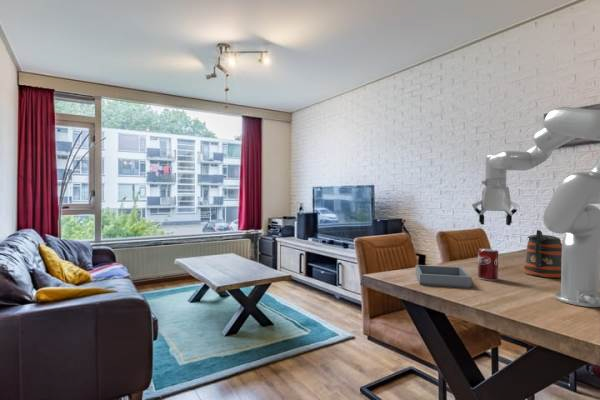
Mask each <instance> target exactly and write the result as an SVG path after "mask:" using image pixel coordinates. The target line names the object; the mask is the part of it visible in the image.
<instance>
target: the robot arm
mask: <svg viewBox="0 0 600 400" xmlns="http://www.w3.org/2000/svg"><path fill="white" fill-rule="evenodd" d="M543 126H544V127H542V128H540V129H539V130H537V131H536V132H535V133H534V135H533V141H534V143H535V145H534V146H533V147H531V148H529V149H528V150H526V151H519V150H505V151H501V152H499V153H498V152H497V153H489V154H487V155H486V157H485V179H484V180H481V185H484V187H483V189H482V193H481V199H480V200H479V201H477V202H475V203H473V204H471V206H472V208H473V210H474V211H475V212H476V213H477V214H478V222H479V223H480V225H483V226H484V225H485V215H484V214H485V213H486V212H487V211H488V212H493V211H494V212H505V213H506V214H507V215H505V216H506V217H505V224H506V226H511V224H512V222H513V221H512V219H513V216H514V214H515V213H516V212H517V211H518V210H519V208H520V204H519V203H516V202H514V201H512V200H511V193H510V192H511V191H510V188H509V186H507V171H520V172H521V171H523V172H524V171H528V170H531V169H533V168H536V167H538V166H539V165H541V164H543V163H544V162H546V161H547V160H548V159H549V158H550V157H551V156H552V153H553V151H555V150H556V149H559V147H562V146H563V145H565V144H567V143H568V142H570V141H572V140H575V139H576V138H577V139H582V140H587V141H588V140H589V141H598V142H600V109H588V108H583V107H582V108H581V107H572V106H558V107H555V108H554V109H552V110H550V111H549V112H547V114H546V116H545V117H544V120H543ZM593 204H595V205H596V204H598V205H599V204H600V155H599V156H598V158H597V159H596V161H595V163H594V164H593V166H592V168H590V170H589V171H586V172H583V171H579V172H575V173H572V174H569V175H568V176H566V177H565V178H564V179H563V180H562V181H561V182H560V183H559V185H558V187H557V188H556V189H555V191H554V194H553V195H552V197H551V199H550V201H549V203H548V204H547V206H546V208H545V210H544V212H543V216H542V217H543V223H544V226H545V227H546V229H547V230H549V231H550V232H552V233H555V234H564V237H563V239H562V241H561V244H562V257H561V278H560V292H557V293H555V294H554V299H557V300H558V301H560V302H563V303H566V304H570V305H573V306H574V305H575V306H578V307H579V306H580V307H584V308H585V307H586V308H600V208H599V207H597V206H595V205H593ZM478 206H480V208H481V209H479V207H478ZM512 206H513V208H512ZM511 208H512V209H511Z"/></svg>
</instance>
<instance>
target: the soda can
mask: <svg viewBox="0 0 600 400" xmlns="http://www.w3.org/2000/svg"><path fill="white" fill-rule="evenodd" d="M477 277H478V279H480V280H483V281H487V280H488V282H495V281H497V280H499V250H497V249H494V248H485V247H484V248H479V249H478V250H477Z"/></svg>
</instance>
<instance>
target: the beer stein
mask: <svg viewBox="0 0 600 400" xmlns="http://www.w3.org/2000/svg"><path fill="white" fill-rule="evenodd" d="M527 238H528V241H527V242H526V243H527V244H526V250H525V251H526V256H525V261H524V263H523V264H524V266H523V267H524V268H523V272H524V274H527V275H531V276H534V277H540V278H542V277H543V278H548V279H550V278H552V279H561V257H562V240H561V238H559V237H557V236H554V235H548V234H543V232H542V231H541V230H539V229H537V230H536V233H535V234H532V235H531V234H530V235H529V236H527Z"/></svg>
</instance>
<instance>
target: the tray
mask: <svg viewBox="0 0 600 400" xmlns="http://www.w3.org/2000/svg"><path fill="white" fill-rule="evenodd" d="M415 276H416V279H417V282H418V284H419V285H421V286H431V287H432V286H435V287H447V288H448V287H450V288H463V289H465V288H466V289H472V281H473V278H472V276H471V275H470V274H469V273H467V271H466V270H464V269H463V267H460V266H444V265H429V264H426V265H425V264H424V265H423V264H415Z"/></svg>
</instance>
